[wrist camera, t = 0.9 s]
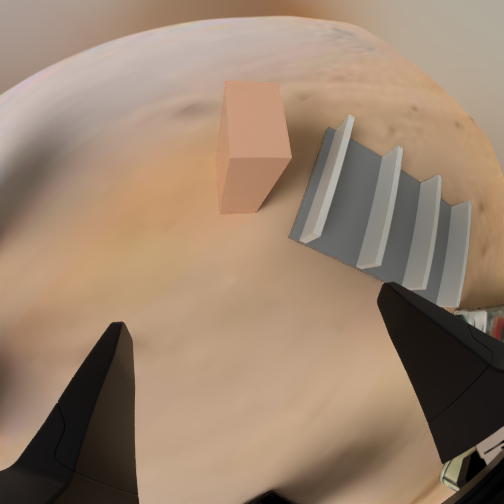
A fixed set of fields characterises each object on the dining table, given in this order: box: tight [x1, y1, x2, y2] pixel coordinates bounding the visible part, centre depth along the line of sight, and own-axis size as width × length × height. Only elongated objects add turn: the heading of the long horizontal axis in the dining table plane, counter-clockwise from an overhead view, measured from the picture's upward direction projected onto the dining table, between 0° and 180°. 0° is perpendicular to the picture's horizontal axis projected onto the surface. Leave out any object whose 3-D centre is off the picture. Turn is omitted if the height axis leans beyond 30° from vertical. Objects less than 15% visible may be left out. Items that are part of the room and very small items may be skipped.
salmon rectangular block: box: [216, 81, 292, 214], centre depth 18 cm, size 5×3×10 cm, turn 5°
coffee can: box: [440, 447, 475, 492], centre depth 16 cm, size 10×10×14 cm
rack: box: [289, 115, 472, 308], centre depth 23 cm, size 12×19×4 cm, turn 68°
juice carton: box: [453, 305, 504, 342], centre depth 23 cm, size 20×10×6 cm, turn 86°
